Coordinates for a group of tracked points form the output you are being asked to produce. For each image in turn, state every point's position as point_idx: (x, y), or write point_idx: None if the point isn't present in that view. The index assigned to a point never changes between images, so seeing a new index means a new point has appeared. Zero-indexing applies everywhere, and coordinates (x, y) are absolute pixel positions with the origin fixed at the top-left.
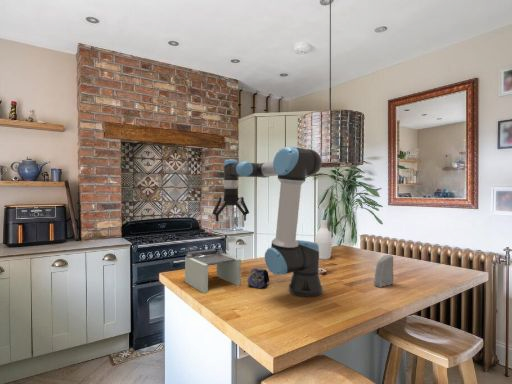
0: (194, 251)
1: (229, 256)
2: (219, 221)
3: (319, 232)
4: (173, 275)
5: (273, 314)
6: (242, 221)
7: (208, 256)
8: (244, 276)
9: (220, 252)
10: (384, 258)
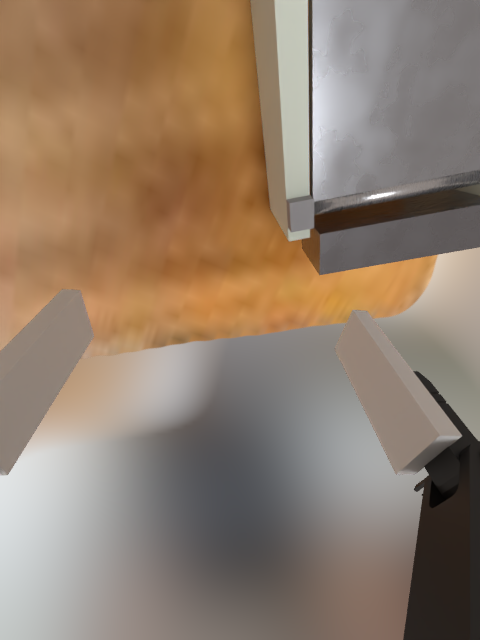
0: (437, 252)
1: (296, 74)
2: (396, 360)
3: None
4: (402, 277)
5: None
6: (51, 350)
7: (403, 158)
8: (177, 142)
9: (309, 197)
10: None
